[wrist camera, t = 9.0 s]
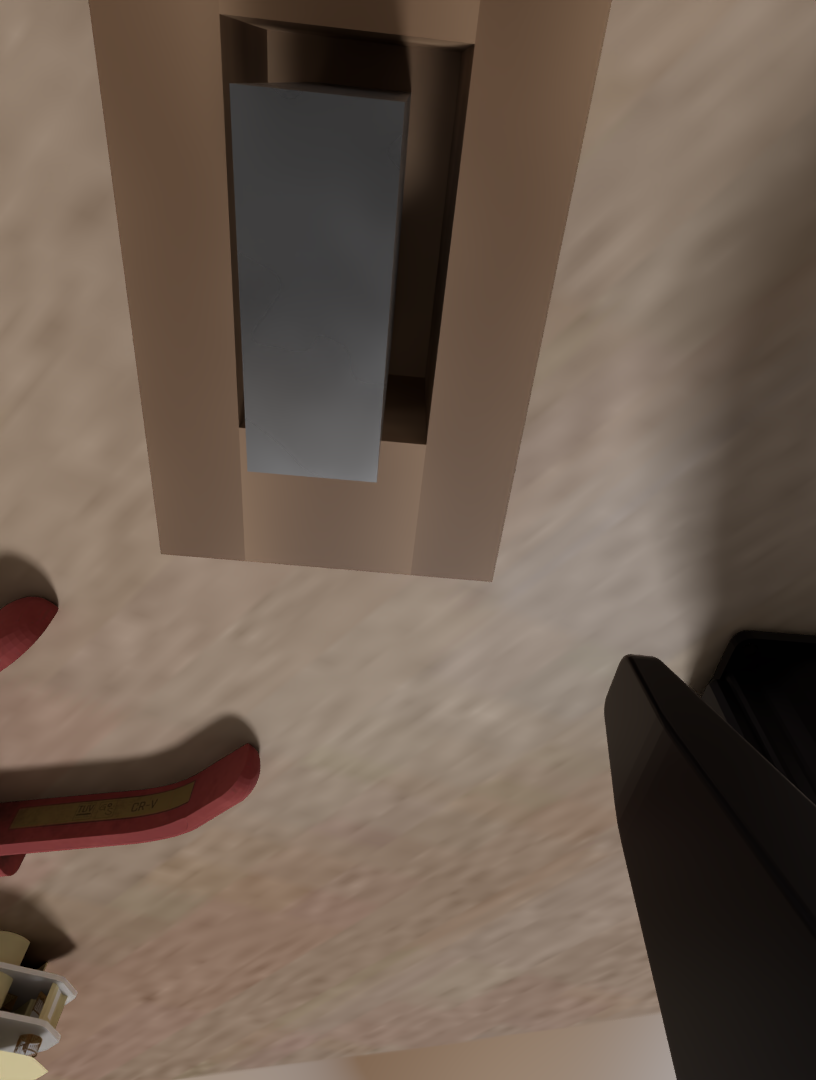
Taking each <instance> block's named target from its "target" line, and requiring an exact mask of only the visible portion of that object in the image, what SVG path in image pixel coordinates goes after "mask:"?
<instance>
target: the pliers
mask: <svg viewBox="0 0 816 1080" xmlns="http://www.w3.org/2000/svg"><path fill="white" fill-rule="evenodd" d="M57 611H58V607H57V606H56V605H54V604H53V603H51V602H50V601H48V600H46V599H43V598H41V597H25V598H21V599H18V600H15V601H13V602H11V603H9V604H7V605H6V606H4V607H3V608H2V609H1V610H0V671H2V670H3V669H5V668H6V667H7V666H9V665H10V664H12V663H13V662H14V661H15V660H17V659H18V658H19V657H20V656H21V655H22V654H23V653H25V652H26V651H27V650H28V649H29V648H30V647H31V646H32V645H33V644H34V643H35V641H36V640H37V639H38V638H39V637H40V636H41V635H42V633H43V632H44V631H45V629H46V628H47V627H48V625H49V624H50V622H51V621H52V619H53V618H54V616H55V615H56V613H57ZM259 774H260V757H259V754H258V752H257V750H256V749H255V748H254V747H253V746H251V745H250V744H248V743H247V744H245V745H244V746H242V747H240V748H239V749H237V750H235V751H234V752H232V753H231V754H229V755H227V756H226V757H224V758H222V759H221V760H219V761H218V762H216V763H214V764H213V765H211V766H210V767H208V768H206V769H205V770H203V771H202V772H200V773H198V774H197V775H195V776H192V777H190V778H188V779H186V780H183V781H180V782H178V783H174V784H171V785H167V786H162V787H157V788H151V789H144V790H135V791H124V792H113V793H102V794H91V795H80V796H69V797H58V798H47V799H37V800H26V801H15V802H4V803H0V877H1V876H11V875H13V874H15V873H16V872H17V870H18V869H19V867H20V865H21V863H22V861H23V859H24V857H25V855H26V853H37V852H49V851H60V850H71V849H82V848H93V847H104V846H115V845H127V844H137V843H144V842H151V841H156V840H162V839H166V838H171V837H175V836H178V835H181V834H184V833H187V832H190V831H192V830H194V829H196V828H198V827H200V826H201V825H203V824H205V823H206V822H208V821H209V820H211V819H213V818H214V817H216V816H218V815H219V814H221V813H223V812H224V811H226V810H228V809H229V808H231V807H233V806H234V805H236V804H238V803H239V802H241V801H243V800H244V799H245V798H246V797H247V796H248V795H249V794H250V793H251V791H252V790H253V788H254V787H255V785H256V783H257V781H258V778H259Z"/></svg>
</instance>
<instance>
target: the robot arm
mask: <svg viewBox="0 0 816 1080" xmlns="http://www.w3.org/2000/svg"><path fill="white" fill-rule="evenodd" d="M747 644H749V645H747ZM745 645H747V646H745ZM743 646H744V647H743ZM604 716H605V725H606V734H607V742H608V751H609V759H610V768H611V776H612V785H613V793H614V802H615V810H616V817H617V824H618V829H619V833H620V838H621V843H622V847H623V852H624V856H625V860H626V865H627V869H628V873H629V877H630V882H631V886H632V890H633V894H634V899H635V903H636V907H637V911H638V916H639V920H640V924H641V929H642V933H643V937H644V941H645V946H646V950H647V954H648V958H649V963H650V967H651V971H652V976H653V980H654V984H655V988H656V993H657V997H658V1001H659V1005H660V1010H661V1014H662V1018H663V1023H664V1027H665V1031H666V1035H667V1040H668V1044H669V1048H670V1052H671V1057H672V1061H673V1065H674V1069H675V1073H676V1078H677V1080H816V636H809V635H797V634H785V633H773V632H761V631H742V632H740V633H737V634H736V635H735V636H733V638H732V639H731V640H730V642H729V644H728V647H727V649H726V651H725V653H724V655H723V657H722V659H721V661H720V663H719V665H718V667H717V669H716V671H715V674H714V676H713V678H712V680H711V682H710V683H709V684H708V685H707V687H706V689H705V691H704V693H703V695H702V697H701V698H700V697H699V696H698V695H697V694H696V693H695V692H694V691H693V690H692V689H691V688H690V687H689V686H687V685H686V684H685V683H684V682H683V681H682V680H681V679H680V678H679V677H678V676H677V675H676V674H675V673H674V672H673V671H671V670H670V669H669V668H668V667H667V666H666V665H665V664H664V663H663V662H662V661H661V660H659V659H658V658H656V657H652V656H643V655H634V654H629V655H626V656H624V657H623V658H622V660H621V661H620V663H619V666H618V668H617V671H616V673H615V676H614V679H613V681H612V684H611V686H610V689H609V691H608V694H607V696H606V700H605V707H604Z"/></svg>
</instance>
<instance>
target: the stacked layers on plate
mask: <svg viewBox="0 0 816 1080" xmlns="http://www.w3.org/2000/svg"><path fill="white" fill-rule="evenodd" d="M29 944H30V942H29V941H28V940H27V939H26V938H24V937H23V936H21V935H18V934H15V933H12V932H7V931H0V1080H35V1079H37V1078H39V1077H40V1076H42V1075H44V1074H45V1073H47V1072H48V1071H47V1070H46V1069H45V1068H44V1067H43V1066H42V1065H41V1064H39V1063H38V1062H37V1061H36V1060H35V1059H34V1057H36V1056H37V1053H38V1052H41V1051H44V1050H48V1049H49V1048H51V1047H52V1046H54V1045H55V1044H57V1043H58V1042H59V1040H60V1038H61V1035H60V1034H59V1033H58V1032H57V1031H56V1030H55V1028H56V1026H57V1023H58V1021H59V1018H60V1015H61V1013H62V1010H63V1008H64V1005H66V1004H67V1003H69V1002H70V1001H72V1000H73V999H74V998H76V995H77V991H76V989H75V988H74V987H73V986H72V985H71V984H70V983H69V981H68V980H67V979H66V978H65V977H63V976H60V975H58V974H53V973H49V972H44V970H45V968H46V966H47V963H48V962H46V963H45V964H44V965H42V966H41V967H40V968H38V969H37V970H35V969H31V968H26V967H22V966H20V964H21V962H22V959H23V957H24V955H25V953H26V951H27V948H28V946H29ZM34 1053H35V1054H34ZM30 1054H34V1055H35V1056H33V1055H32V1057H31V1056H27V1055H30Z"/></svg>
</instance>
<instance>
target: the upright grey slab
mask: <svg viewBox="0 0 816 1080" xmlns="http://www.w3.org/2000/svg"><path fill="white" fill-rule="evenodd" d="M229 86H230V107H231V129H232V150H233V172H234V193H235V215H236V236H237V258H238V279H239V301H240V322H241V344H242V365H243V387H244V408H245V430H246V451H247V471H248V472H260V473H271V474H283V475H294V476H306V477H318V478H329V479H341V480H353V481H364V482H376V483H377V475H378V466H379V457H380V447H381V438H382V428H383V419H384V410H385V400H386V391H387V381H388V372H389V363H390V353H391V344H392V334H393V324H394V311H395V298H396V285H397V273H398V260H399V247H400V234H401V221H402V208H403V196H404V183H405V170H406V157H407V144H408V131H409V119H410V106H411V93H412V92H404V91H395V90H386V89H376V88H367V87H358V86H349V85H339V84H330V83H321V82H286V83H229Z"/></svg>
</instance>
